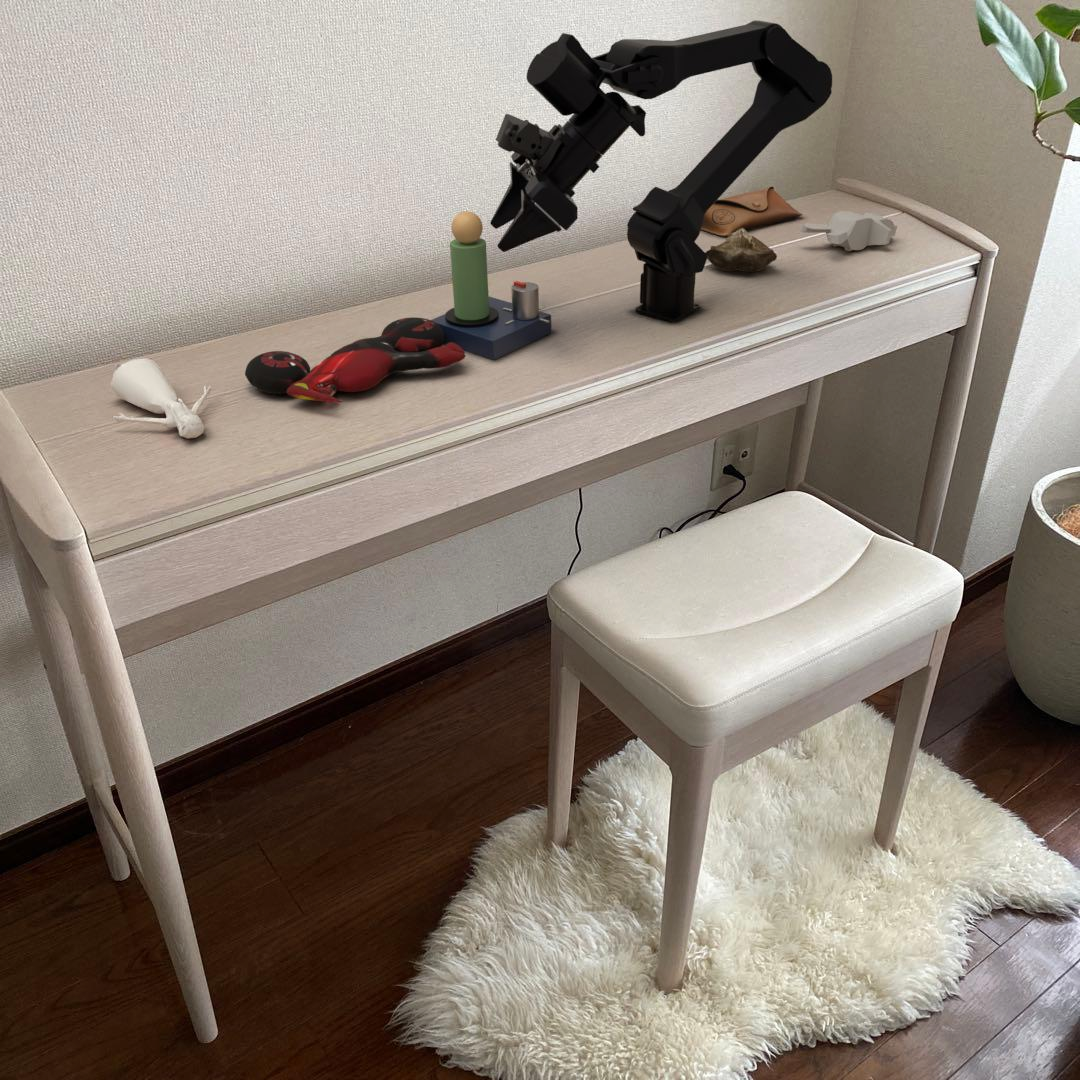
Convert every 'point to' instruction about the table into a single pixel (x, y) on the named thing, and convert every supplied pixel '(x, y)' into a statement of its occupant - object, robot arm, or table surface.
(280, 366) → the toy motorcycle
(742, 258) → the fossilized seashell
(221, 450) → the table surface
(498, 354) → the hot plate
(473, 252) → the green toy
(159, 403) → the woman figurine
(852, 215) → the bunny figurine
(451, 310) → the burner plate
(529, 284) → the stove knob
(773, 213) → the sunglasses case
